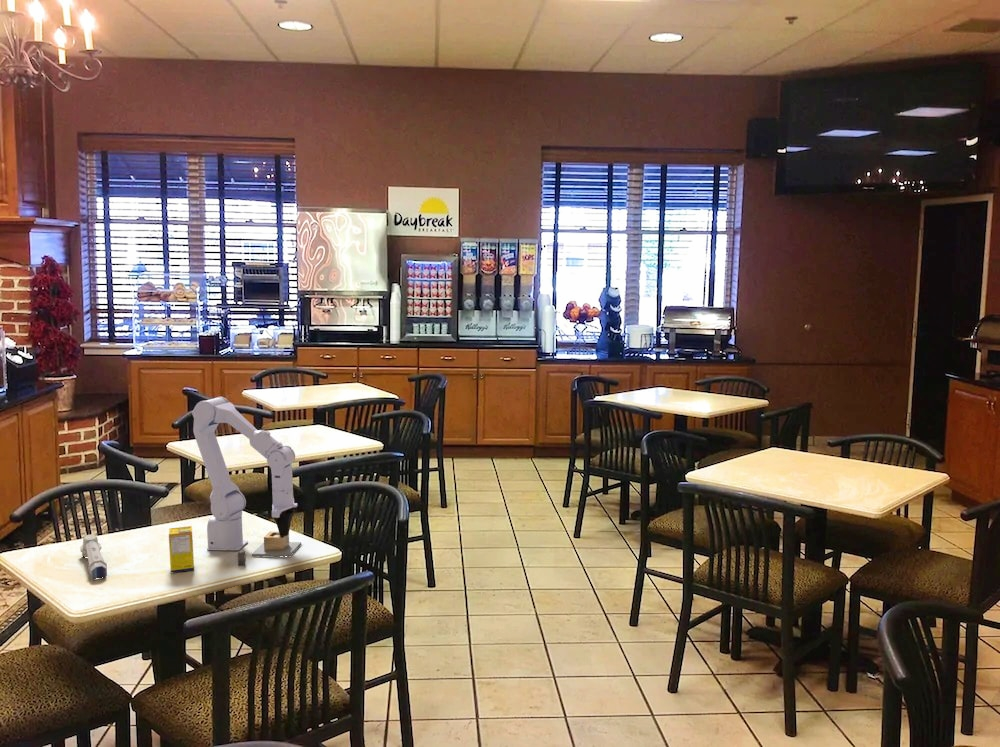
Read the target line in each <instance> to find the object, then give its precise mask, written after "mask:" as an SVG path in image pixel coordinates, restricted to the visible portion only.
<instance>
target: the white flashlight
mask: <svg viewBox="0 0 1000 747" xmlns="http://www.w3.org/2000/svg"><path fill="white" fill-rule="evenodd" d="M82 540H83V541H82V545H81V546H80V547H79V549H80V552H81V557H82V556H84V557H88V559H87V561H88V566H87V567H88V574H89V575H90V576H91V577H90V578H91V579H93V580H94V579H96V578H102V577H105V578H106V577H107V576H108V571H107V570H108V565H107V564H108V563H107V562H106V561H104V558H103V555H102V552H101V549H102V545H101V543H100V542H99V540H98V536H97V535H96V534H92V533H91V534H87V535H85V536H84V537H83V539H82Z"/></svg>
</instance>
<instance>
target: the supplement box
mask: <svg viewBox="0 0 1000 747" xmlns="http://www.w3.org/2000/svg"><path fill="white" fill-rule="evenodd" d="M168 529H169V530H168V544H169V547H168V548H169V549H168V550H169V563H170V564H169V565H170V573H171V572H176V573H182V572H181V571H183V572H190V571H189V570H191V571H194V570H195V561H194V560H195V559H194V543H193V541H194V539H193V528H192V525H188V526H182V527H181V526H180V527H170V528H168Z"/></svg>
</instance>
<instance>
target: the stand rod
mask: <svg viewBox="0 0 1000 747" xmlns="http://www.w3.org/2000/svg"><path fill="white" fill-rule="evenodd" d="M236 555H237V566H238V567H240V566H241V565H242V566H245V565H246V551H245V550H238V552H237V554H236Z"/></svg>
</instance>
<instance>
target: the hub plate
mask: <svg viewBox="0 0 1000 747" xmlns="http://www.w3.org/2000/svg"><path fill="white" fill-rule="evenodd" d="M275 536H280V535H275ZM300 545H301V546H302V541H300V542H299V541H296V542H295V541H289V546H288V547H287V548H286V549H285V550H284V551H264V542H263V543H262V544H260V545H259V547H257V548H256V549H255V550H254V551H253V552H251V557H252V556H261V557H260V558H263V557H262V556H273V557H272V558H281V557H280V556H283V557H282V558H291V557H292V556H293V554H294V553H295V552H296V551H297V550H298V549H299V548H300V547H301V546H300ZM299 546H300V547H299ZM298 547H299V548H298ZM297 548H298V549H297ZM296 549H297V550H296ZM295 550H296V551H295ZM294 551H295V552H294ZM292 553H293V554H292ZM285 556H287V557H285ZM290 556H291V557H290Z"/></svg>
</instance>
